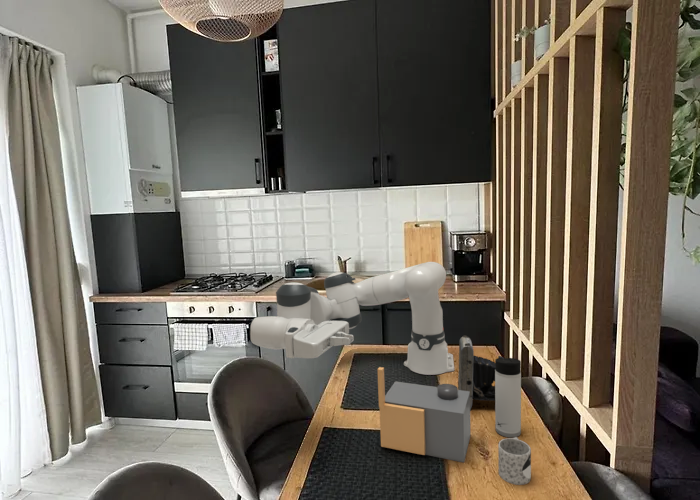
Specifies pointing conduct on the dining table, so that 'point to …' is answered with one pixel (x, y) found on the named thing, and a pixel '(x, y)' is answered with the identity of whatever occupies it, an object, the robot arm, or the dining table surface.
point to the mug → (514, 461)
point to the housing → (438, 416)
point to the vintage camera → (475, 373)
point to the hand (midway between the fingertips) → (351, 340)
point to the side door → (400, 423)
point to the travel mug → (508, 397)
